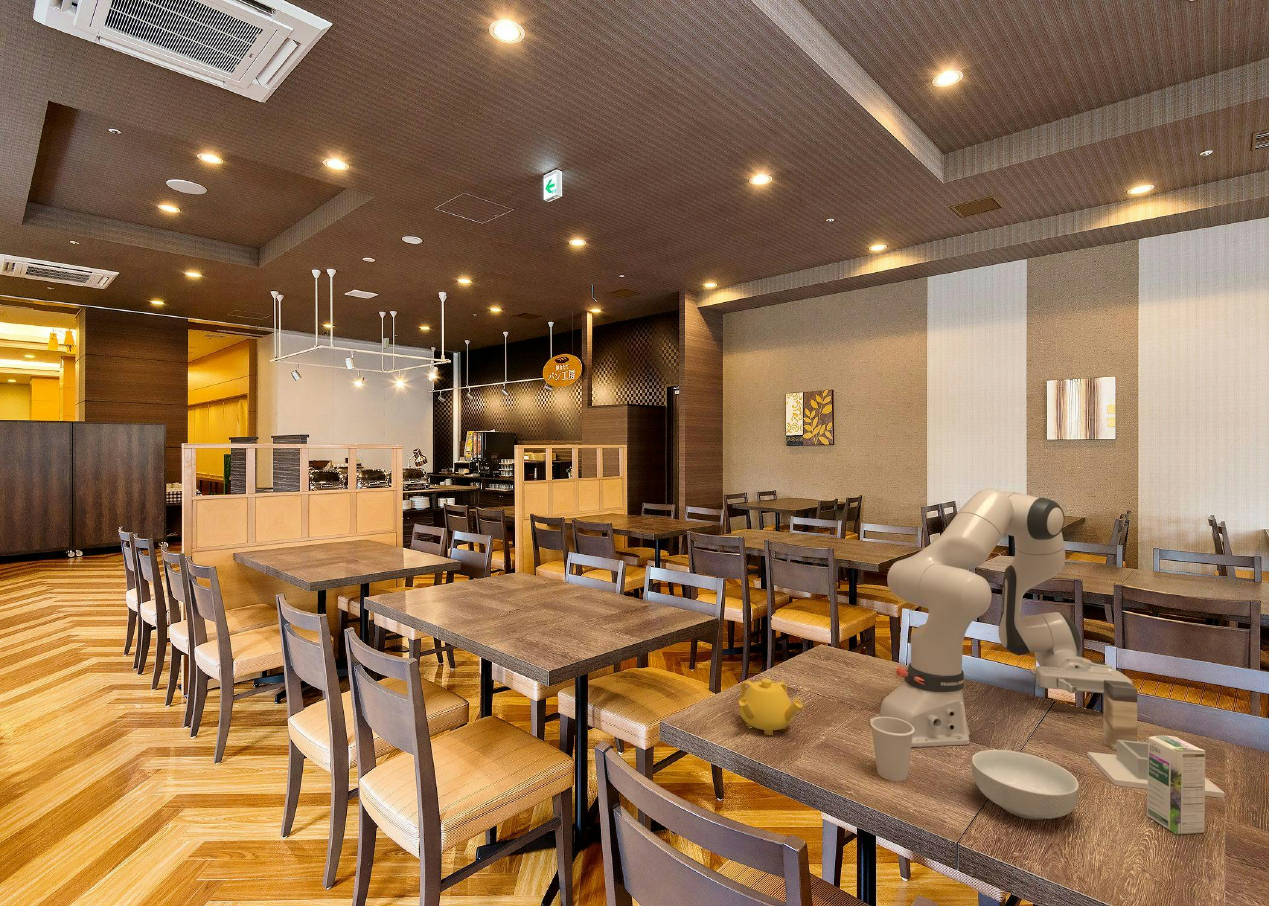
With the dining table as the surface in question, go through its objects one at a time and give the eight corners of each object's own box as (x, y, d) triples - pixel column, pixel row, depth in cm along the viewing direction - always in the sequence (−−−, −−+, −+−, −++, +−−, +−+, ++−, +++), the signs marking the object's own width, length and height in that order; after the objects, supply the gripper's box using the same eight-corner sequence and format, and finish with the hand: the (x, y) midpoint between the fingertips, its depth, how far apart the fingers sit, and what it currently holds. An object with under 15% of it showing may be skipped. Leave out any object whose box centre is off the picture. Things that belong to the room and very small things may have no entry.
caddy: (1224, 798, 118) (1224, 772, 118) (1114, 785, 123) (1114, 759, 123) (1186, 767, 130) (1186, 743, 130) (1087, 756, 134) (1087, 733, 134)
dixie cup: (923, 780, 124) (924, 730, 124) (890, 788, 121) (890, 736, 121) (893, 761, 132) (893, 714, 132) (861, 767, 129) (861, 719, 129)
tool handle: (1137, 753, 136) (1137, 689, 136) (1113, 750, 137) (1113, 687, 137) (1126, 743, 140) (1126, 681, 141) (1103, 741, 142) (1103, 679, 142)
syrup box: (1145, 816, 112) (1145, 735, 112) (1175, 814, 113) (1175, 734, 113) (1175, 835, 107) (1175, 750, 107) (1206, 833, 107) (1207, 749, 107)
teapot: (739, 739, 142) (739, 690, 142) (733, 714, 155) (733, 670, 155) (803, 742, 141) (803, 692, 141) (791, 716, 155) (792, 671, 155)
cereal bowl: (1102, 826, 109) (1102, 786, 109) (1029, 843, 105) (1029, 800, 105) (1018, 778, 126) (1018, 743, 126) (950, 790, 121) (951, 754, 121)
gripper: (1027, 657, 166) (1047, 674, 153) (1116, 664, 161) (1145, 683, 148) (1026, 680, 166) (1046, 700, 153) (1116, 688, 161) (1144, 709, 148)
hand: (1095, 692), depth 150 cm, fingers open, 8 cm apart
